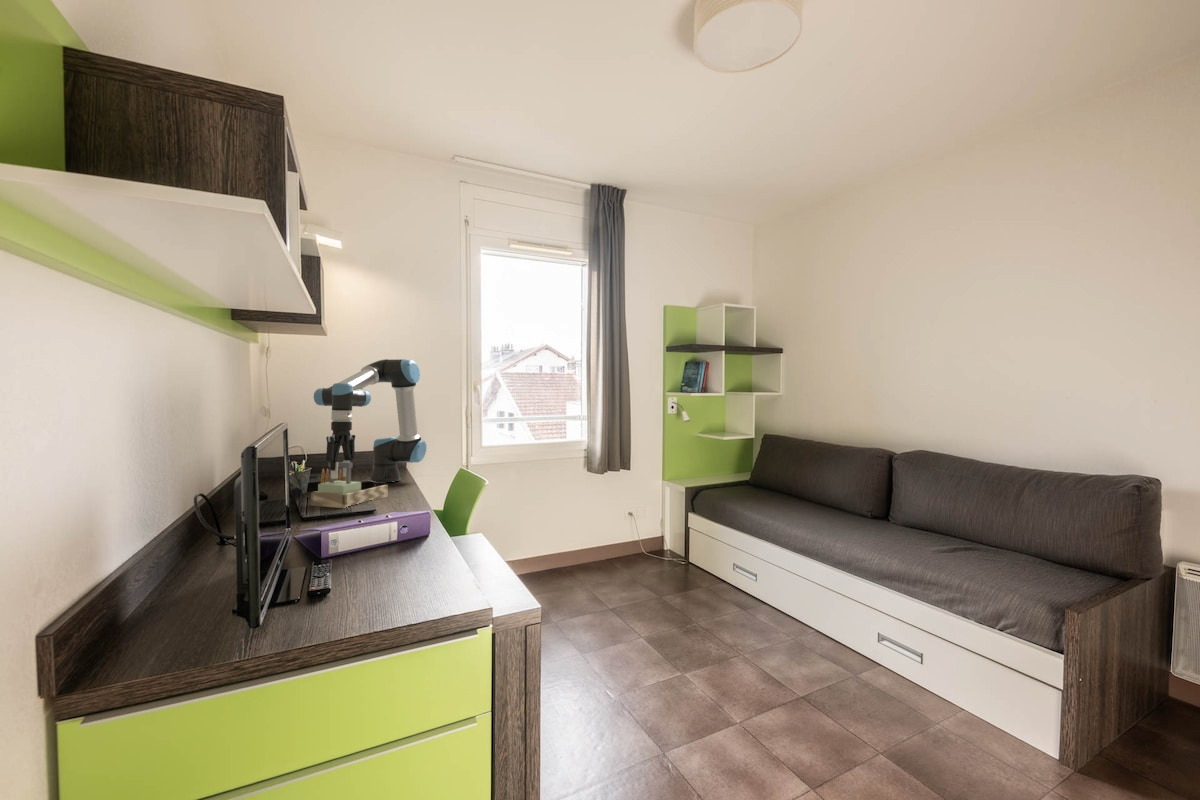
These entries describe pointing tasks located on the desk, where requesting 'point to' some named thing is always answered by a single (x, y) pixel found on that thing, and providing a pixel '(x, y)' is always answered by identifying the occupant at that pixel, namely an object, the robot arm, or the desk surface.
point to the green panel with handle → (340, 482)
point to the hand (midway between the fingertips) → (340, 477)
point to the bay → (348, 497)
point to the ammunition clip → (326, 479)
